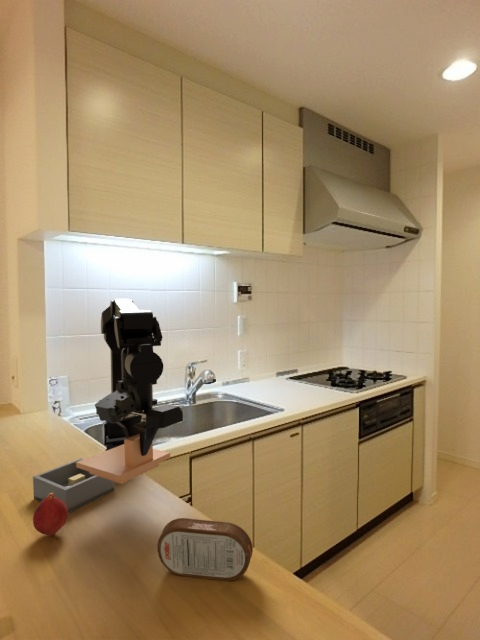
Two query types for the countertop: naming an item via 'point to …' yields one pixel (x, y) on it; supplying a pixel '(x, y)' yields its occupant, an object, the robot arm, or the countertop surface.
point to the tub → (71, 485)
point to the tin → (205, 549)
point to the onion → (50, 515)
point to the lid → (123, 461)
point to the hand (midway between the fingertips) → (139, 453)
